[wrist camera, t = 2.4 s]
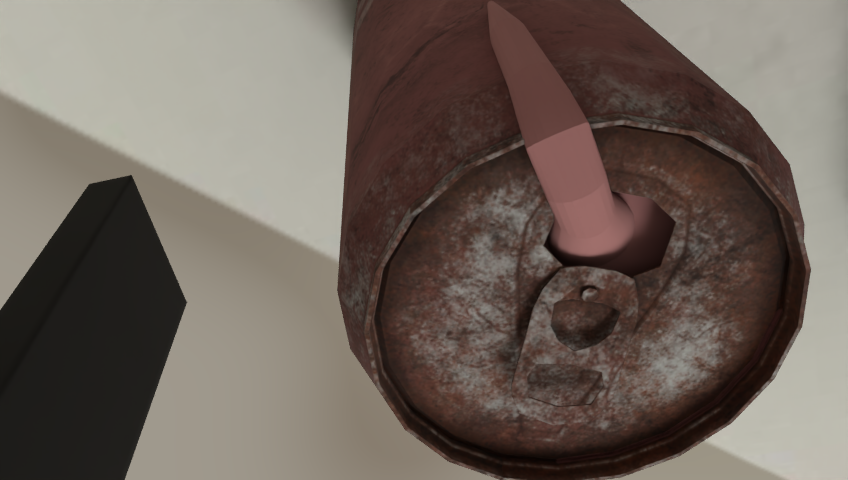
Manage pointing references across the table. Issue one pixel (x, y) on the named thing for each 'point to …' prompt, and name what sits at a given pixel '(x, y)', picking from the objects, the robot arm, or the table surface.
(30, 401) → the robot arm
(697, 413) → the can
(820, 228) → the table surface
